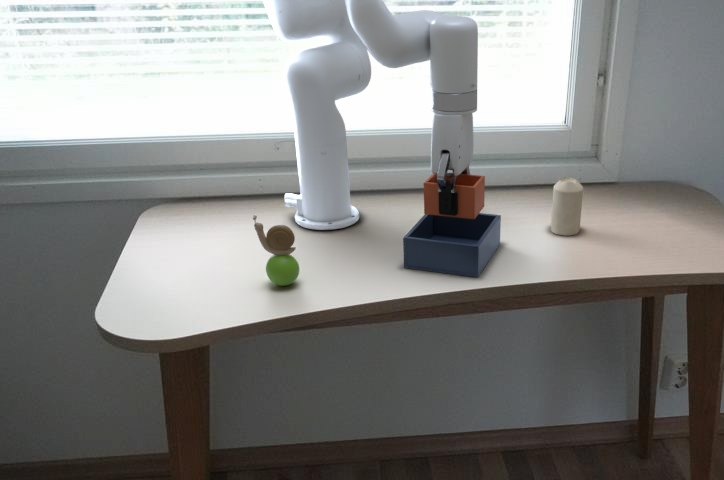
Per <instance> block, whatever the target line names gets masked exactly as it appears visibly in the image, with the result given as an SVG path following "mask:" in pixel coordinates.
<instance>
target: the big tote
mask: <svg viewBox="0 0 724 480" xmlns="http://www.w3.org/2000/svg"><path fill="white" fill-rule="evenodd" d="M501 222H502V215H501V214H492V213H483V212H480V213H479V214H478V215H477V217H476V218H475V219H468V218H458V217H448V216H438V215H429V214H423V215H422V216H421V217H420V218H419V220H418V221H416V223H415V224H414V225H413V226H412V227H411V228H410V229H409V231H407V233H406V234H405V235H404V236H403V237H402V250H403V268H404V269H409V270H418V271H424V272H425V271H426V272H431V273H441V274H447V275H448V274H449V275H457V276H463V277H464V276H465V277H471V278H479V276H480V275H481V274H482V272H483V270H484V269H485V267H486V266H487V265H488V263H489V261H490V260H491V259H492V257H493V255H494V254H495V252H496V251H497V250H498V248H499V246H500V245H501V227H502V225H501V224H502V223H501Z"/></svg>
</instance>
